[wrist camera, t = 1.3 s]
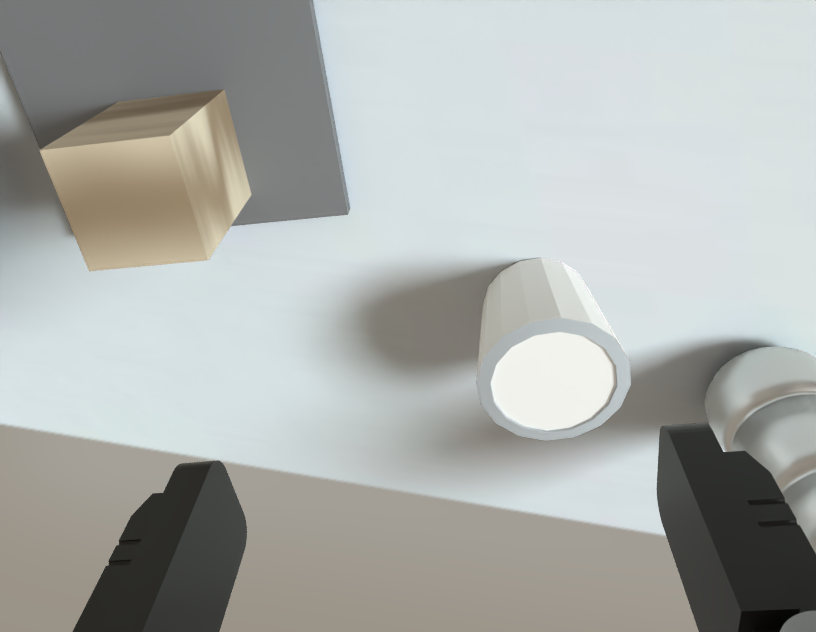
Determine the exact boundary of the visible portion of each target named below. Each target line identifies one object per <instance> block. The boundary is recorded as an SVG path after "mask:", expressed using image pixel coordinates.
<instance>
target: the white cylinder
mask: <svg viewBox="0 0 816 632" xmlns="http://www.w3.org/2000/svg"><path fill="white" fill-rule="evenodd" d="M476 383H477V387H478V392H479V397H480V402H481V405H482V407H483V408H484V409H485V410H486V412H487V413H488V414H489V415H490V417H491V418H492V419H493V421H494V422H495V423H496V424H498V425H499V426H501V427H503V428H505V429H507V430H509V431H510V432H512V433H514V434H516V435H518V436H521V437H527V438H533V439H538V440H544V441H549V440H557V439H565V438H573V437H577V436H579V435H581V434H583V433H586V432H588V431H590V430H592V429H594V428H597V427H599V426H601V425H602V424H603V423H604V422H605V421H606V420H607V419H609V418H610V417H611V416H612V415H613V414H614V413H615V412H616V411H617V410H618V409H619V408H620V407H621V405H622V403H623V401H624V399H625V397H626V394H627V392H628V390H629V388H630V386H631V374H630V360H629V358H628V356H627V354H626V353H625V351H624V349H623V348H622V346H621V344H620V342H619V341H618V339H617V337H616V336H615V334H614V332H613V330H612V329H611V327H610V325H609V324H608V322H607V320H606V318H605V317H604V315H603V313H602V312H601V310H600V308H599V306H598V305H597V303H596V301H595V300H594V298H593V296H592V294H591V293H590V291H589V289H588V288H587V286H586V284H585V283H584V281H583V280H582V278H581V276H580V275H579V273H578V272H577V271H575V270H574V269H572V268H571V267H569V266H567V265H566V264H564V263H563V262H561V261H556V260H551V259H545V258H535V259H529V260H523V261H518V262H517V263H515V264H513V265H511V266H509V267H508V268H506V269H504V270H502V271H501V272H500V273H499V274H498V275H497V276H496V278H495V279H494V280H493V281H492V282H491V284H490V285H489V286H488V288H487V292H486V295H485V299H484V302H483V310H482V321H481V333H480V345H479V356H478V368H477V380H476Z"/></svg>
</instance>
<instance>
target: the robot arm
mask: <svg viewBox="0 0 816 632" xmlns="http://www.w3.org/2000/svg"><path fill="white" fill-rule="evenodd" d="M657 499H658V507H659V512H660V517H661V521H662V524H663V527H664V530H665V533H666V536H667V539H668V542H669V545H670V548H671V551H672V553H673V557H674V559H675V562H676V565H677V568H678V571H679V574H680V577H681V580H682V583H683V586H684V589H685V592H686V595H687V597H688V601H689V604H690V606H691V610H692V613H693V615H694V618H695V621H696V624H697V627H698V630H699V632H816V553H815V551H814V550H813V548H812V546H811V544H810V542H809V541H808V539H807V537H806V535H805V533H804V532H803V530H802V528H801V526H800V525H798V524H797V519H796V517H795V515H794V514H793V512H792V510H791V508H790V506H789V505H788V503H786V502H785V497H784V496H783V494H782V492H781V490H780V488H779V487H778V485H777V483H776V481H775V479H774V478H773V476H772V474H771V472H770V471H769V470H767V469H766V468H765V467H764V466H763V465H761V464H760V463H759V462H758V461H757V460H755V459H754V458H753V457H752V456H751V455H750V454H748V453H747V452H746V451H732V452H723V450H722V448H721V446H720V444H719V442H718V440H717V438H716V436H715V434H714V432H713V430H712V428H711V427H710V425H709V424H708V423H694V424H682V425H670V426H662V427H661V429H660V437H659V456H658V474H657ZM246 538H247V527H246V520H245V516H244V513H243V510H242V508H241V505H240V503H239V500H238V498H237V496H236V493H235V491H234V488H233V486H232V483H231V481H230V478H229V476H228V473H227V471H226V468H225V466H224V465H223V463H222V462H220V461H206V462H194V463H183V464H179V465H178V466H177V467H176V468H175V470H174V471H173V473H172V476H171V478H170V480H169V482H168V484H167V486H166V488H165V491H164V493H155V494H152V495H151V496H150V497H149V498H148V499H147V500H146V501H145V502H144V503H143V504H142V505H141V507H139V509H138V510H137V511H136V512H135V513H134V514H133V515H132V516H131V518H130V520H129V522H128V524H127V526H126V528H125V530H124V532H123V534H122V535H121V538H120V540H119V545H117V546H116V547H115V550H114V551H113V553H112V555H111V557H110V559H109V565H108V566H106V567H105V569H104V571H103V573H102V575H101V577H100V579H99V581H98V583H97V585H96V587H95V589H94V591H93V593H92V595H91V597H90V599H89V601H88V602H87V604H86V607H85V609H84V610H83V613H82V614H81V616H80V618H79V620H78V622H77V624H76V626H75V628H74V630H73V632H219V631H220V628H221V624H222V621H223V618H224V615H225V611H226V608H227V605H228V601H229V598H230V595H231V592H232V589H233V586H234V582H235V579H236V576H237V572H238V569H239V566H240V563H241V560H242V556H243V553H244V550H245V546H246Z"/></svg>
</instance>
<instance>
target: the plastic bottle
mask: <svg viewBox="0 0 816 632" xmlns="http://www.w3.org/2000/svg"><path fill="white" fill-rule="evenodd" d="M705 408H706V413H707V418H708V422H709V425H710V427H711V428H712V430H713V432H714V434H715V436H716V438H717V440H718V442H719V444H720V445H721V446H722V448H723V449H724V450H725V452H732V451H746V452H747V453H748V454H750V455H751V456H752V457H753V458H754V459H755V460H757V461H758V462H759V463H760V464H761V465H763V466H764V467H765V468H766V469H767V470H769V471H770V472H771V474H772V476H773V478H774V479H775V481H776V483H777V485H778V487H779V488H780V490H781V492H782V494H783V496H784V497H785V502H786V503H788V505H789V506H790V508H791V510H792V512H793V514H794V515H795V517H796V519H797V524H798V525H800V526H801V528H802V530H803V532H804V533H805V535H806V537H807V539H808V541H809V542H810V544H811V546H812V548H813V550H814V551H815V553H816V358H815V357H813V356H811V355H810V354H808V353H806V352H803V351H801V350H798V349H792V348H786V347H762V348H756V349H753V350H749V351H746V352H744V353H742V354H740V355H737V356H736V357H734V358H732V359H731V360H729V361H728V362H727V363H726V364H724V365H723V366H722V367H721V368H720V369H719V370H718V372H717V373H716V374H715V376H714V378H713V379H712V381H711V383H710V385H709V387H708V389H707V392H706V396H705Z"/></svg>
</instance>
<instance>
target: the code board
mask: <svg viewBox="0 0 816 632" xmlns="http://www.w3.org/2000/svg"><path fill="white" fill-rule="evenodd" d="M0 52H1V54H2V57H3V59H4V62H5V64H6V66H7V69H8V71H9V74H10V76H11V79H12V81H13V83H14V86H15V88H16V91H17V93H18V96H19V98H20V100H21V103H22V105H23V108H24V110H25V112H26V115H27V117H28V120H29V122H30V125H31V127H32V129H33V132H34V134H35V137H36V139H37V142H38V144H39V146H40V149H42V148H44V147H45V146H47V145H49V144H50V143H52V142H54V141H55V140H57V139H59V138H60V137H62V136H63V135H65V134H67V133H68V132H70V131H72V130H73V129H75V128H76V127H78V126H80V125H81V124H83V123H85V122H86V121H88V120H90V119H91V118H93V117H94V116H96V115H98V114H99V113H101V112H103V111H104V110H106V109H107V108H109V107H111V106H112V105H114V104H116V103H117V102H122V101H130V100H139V99H147V98H155V97H164V96H172V95H180V94H189V93H197V92H205V91H214V90H222V89H224V90H225V94H226V98H227V101H228V105H229V109H230V113H231V117H232V121H233V125H234V129H235V133H236V136H237V140H238V144H239V148H240V152H241V156H242V160H243V164H244V168H245V171H246V175H247V179H248V183H249V187H250V191H251V196H250V198H249V199H248V201H247V202H246V204H245V205H244V207H243V208H242V210H241V211H240V213H239V214H238V216H237V217H236V219H235V220H234V222H233V223H232V225H231V226H236V225H246V224H257V223H267V222H277V221H287V220H298V219H308V218H318V217H328V216H339V215H348V213H349V210H350V205H349V200H348V194H347V189H346V183H345V177H344V172H343V166H342V161H341V155H340V150H339V144H338V138H337V133H336V127H335V122H334V116H333V111H332V105H331V99H330V94H329V88H328V83H327V77H326V71H325V66H324V60H323V55H322V49H321V44H320V38H319V32H318V27H317V21H316V16H315V10H314V5H313V0H0Z"/></svg>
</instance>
